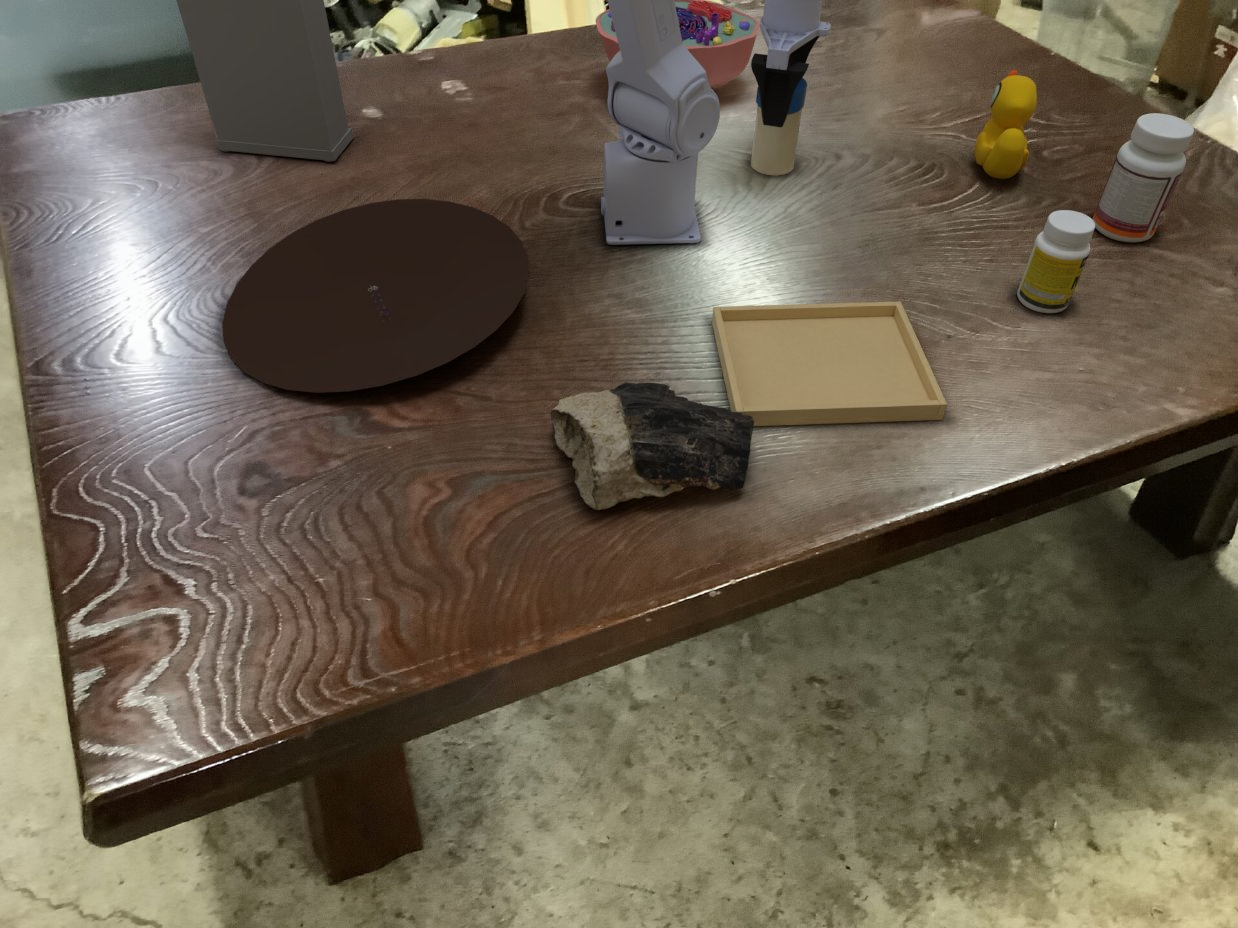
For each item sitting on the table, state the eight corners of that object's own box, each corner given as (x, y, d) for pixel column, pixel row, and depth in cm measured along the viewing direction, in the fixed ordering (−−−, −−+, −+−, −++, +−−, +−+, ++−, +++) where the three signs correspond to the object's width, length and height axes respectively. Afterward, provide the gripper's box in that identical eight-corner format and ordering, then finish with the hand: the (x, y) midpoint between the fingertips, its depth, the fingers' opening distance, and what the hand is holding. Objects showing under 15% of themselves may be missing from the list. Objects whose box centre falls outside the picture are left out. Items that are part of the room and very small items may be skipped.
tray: (734, 427, 79) (736, 411, 78) (711, 321, 89) (713, 306, 88) (942, 419, 80) (947, 404, 79) (897, 316, 90) (900, 301, 89)
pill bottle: (1125, 209, 104) (1168, 106, 96) (1166, 238, 100) (1215, 134, 92) (1077, 219, 103) (1117, 115, 95) (1118, 249, 99) (1163, 144, 91)
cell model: (759, 121, 118) (770, 25, 110) (593, 118, 118) (592, 22, 110) (748, 63, 130) (757, -28, 122) (597, 61, 130) (597, -30, 122)
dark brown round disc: (204, 260, 96) (193, 227, 93) (479, 204, 104) (476, 172, 101) (247, 442, 77) (234, 407, 75) (576, 357, 86) (575, 323, 83)
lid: (759, 114, 103) (762, 93, 102) (752, 93, 107) (754, 72, 105) (808, 113, 104) (811, 92, 102) (799, 92, 107) (802, 71, 106)
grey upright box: (354, 138, 114) (309, -102, 96) (335, 163, 110) (283, -83, 92) (243, 128, 115) (178, -110, 98) (219, 152, 111) (146, -92, 94)
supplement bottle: (1071, 318, 90) (1103, 238, 84) (1018, 311, 91) (1046, 232, 85) (1065, 288, 94) (1096, 210, 88) (1013, 282, 94) (1041, 204, 88)
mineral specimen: (535, 365, 75) (715, 316, 78) (547, 435, 80) (715, 386, 83) (587, 472, 66) (788, 412, 69) (596, 543, 71) (783, 485, 74)
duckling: (967, 142, 115) (991, 57, 108) (1015, 147, 114) (1042, 61, 107) (972, 190, 107) (998, 101, 100) (1023, 195, 106) (1053, 106, 99)
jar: (754, 176, 109) (763, 97, 102) (747, 155, 112) (756, 77, 106) (797, 175, 109) (809, 96, 102) (789, 154, 112) (800, 77, 106)
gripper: (827, 7, 90) (806, 145, 100) (846, -44, 100) (825, 86, 110) (752, -2, 92) (738, 135, 101) (778, -51, 102) (763, 78, 111)
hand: (779, 109), depth 106 cm, fingers open, 7 cm apart
